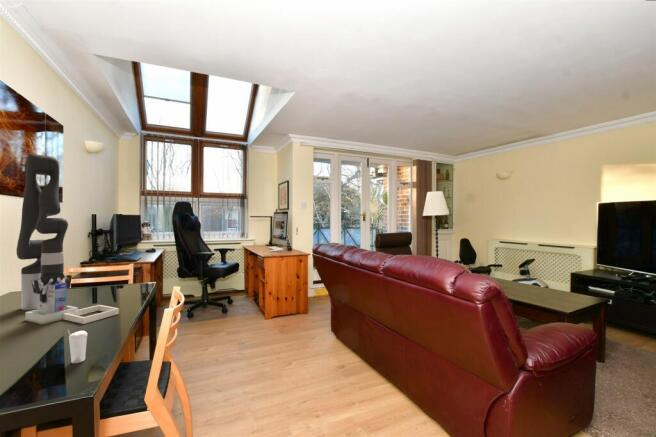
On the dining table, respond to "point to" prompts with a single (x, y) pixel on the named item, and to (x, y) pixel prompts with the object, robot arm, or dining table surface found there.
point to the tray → (47, 315)
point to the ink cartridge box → (54, 298)
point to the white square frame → (77, 318)
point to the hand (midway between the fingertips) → (52, 300)
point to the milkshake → (78, 346)
